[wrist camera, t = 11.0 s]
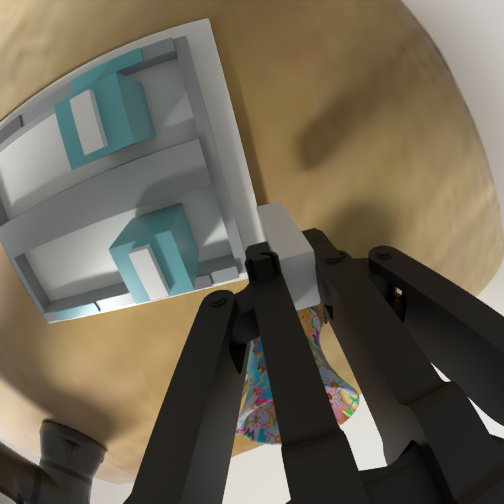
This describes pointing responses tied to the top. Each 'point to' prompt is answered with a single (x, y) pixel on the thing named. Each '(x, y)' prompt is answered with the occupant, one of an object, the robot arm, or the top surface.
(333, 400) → the mug
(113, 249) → the tab
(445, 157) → the top surface
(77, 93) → the tab
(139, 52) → the switch board
